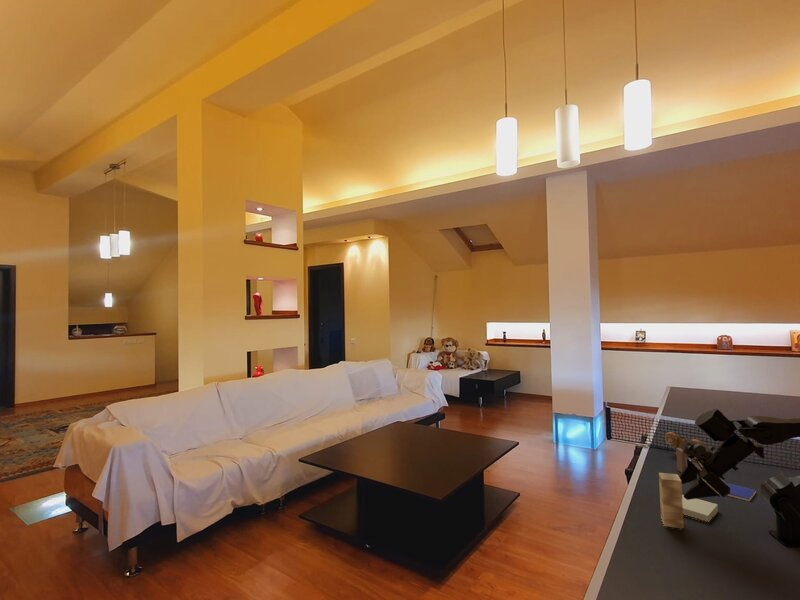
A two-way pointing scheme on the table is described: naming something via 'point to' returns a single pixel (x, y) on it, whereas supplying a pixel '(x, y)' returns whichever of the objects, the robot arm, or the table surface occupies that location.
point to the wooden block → (680, 459)
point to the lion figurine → (677, 440)
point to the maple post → (671, 500)
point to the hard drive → (741, 492)
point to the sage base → (699, 508)
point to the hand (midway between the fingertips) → (681, 490)
